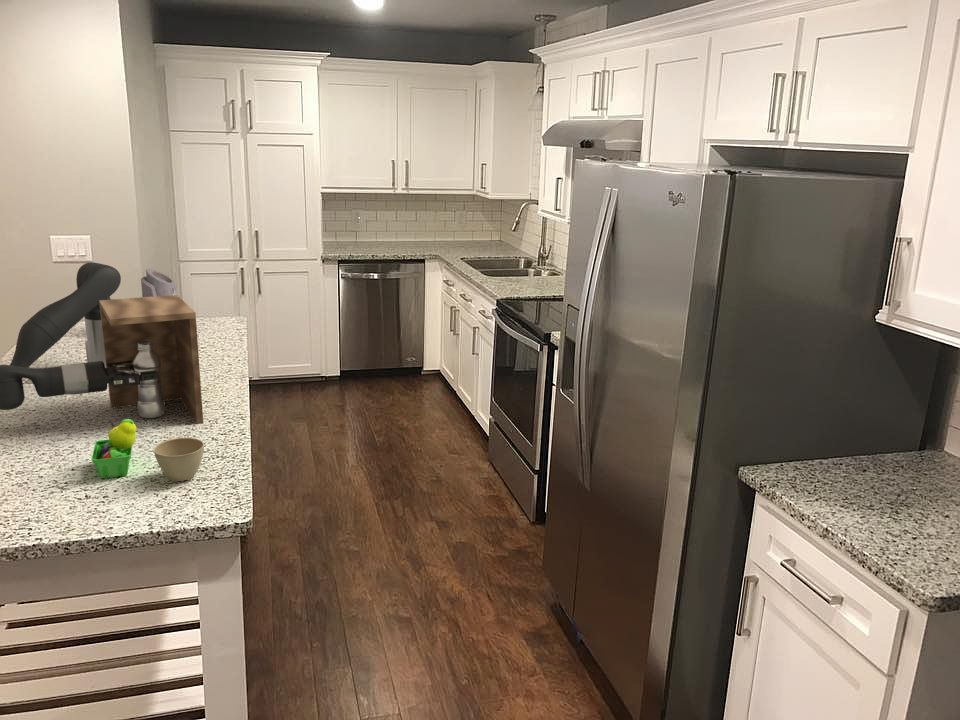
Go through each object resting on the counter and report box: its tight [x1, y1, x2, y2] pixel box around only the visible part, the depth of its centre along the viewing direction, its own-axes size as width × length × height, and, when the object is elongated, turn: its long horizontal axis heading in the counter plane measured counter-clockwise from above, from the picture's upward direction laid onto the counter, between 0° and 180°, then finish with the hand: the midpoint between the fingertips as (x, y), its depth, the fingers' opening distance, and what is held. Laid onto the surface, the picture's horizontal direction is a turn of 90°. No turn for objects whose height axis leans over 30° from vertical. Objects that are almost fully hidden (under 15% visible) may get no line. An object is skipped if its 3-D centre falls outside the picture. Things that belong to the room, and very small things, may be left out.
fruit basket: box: [91, 418, 137, 479], centre depth 165 cm, size 11×9×11 cm
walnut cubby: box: [99, 294, 204, 425], centre depth 195 cm, size 19×23×29 cm
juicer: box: [111, 268, 177, 300], centre depth 270 cm, size 30×16×24 cm, turn 97°
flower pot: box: [153, 437, 205, 482], centre depth 163 cm, size 10×10×7 cm
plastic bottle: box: [133, 341, 166, 419], centre depth 194 cm, size 6×7×20 cm
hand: (154, 370), depth 195 cm, fingers open, 8 cm apart
